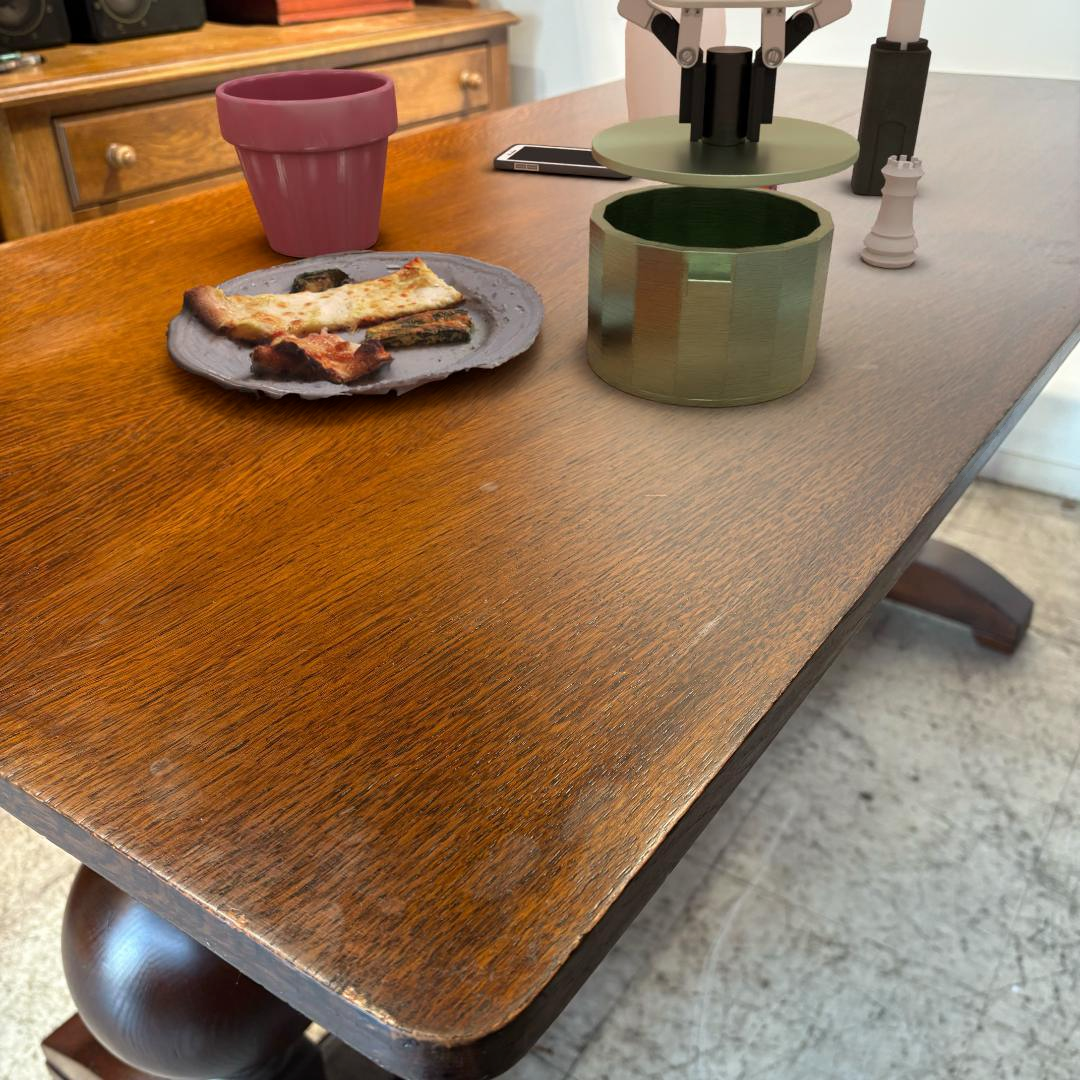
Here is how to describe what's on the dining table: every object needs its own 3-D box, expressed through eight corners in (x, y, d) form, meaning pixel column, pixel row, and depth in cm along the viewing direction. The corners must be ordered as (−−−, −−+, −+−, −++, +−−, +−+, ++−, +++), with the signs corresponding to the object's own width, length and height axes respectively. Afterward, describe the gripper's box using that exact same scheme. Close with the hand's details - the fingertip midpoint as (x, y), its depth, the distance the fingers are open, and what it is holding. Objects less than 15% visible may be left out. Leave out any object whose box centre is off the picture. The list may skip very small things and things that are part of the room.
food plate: (199, 450, 61) (188, 393, 59) (149, 312, 79) (139, 265, 77) (599, 375, 70) (600, 323, 68) (471, 266, 88) (469, 222, 86)
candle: (853, 195, 105) (898, -107, 91) (849, 181, 109) (892, -110, 96) (908, 197, 104) (961, -107, 91) (902, 183, 108) (952, -110, 95)
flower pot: (228, 228, 96) (203, 73, 90) (383, 211, 101) (370, 62, 94) (252, 279, 85) (226, 106, 78) (426, 257, 89) (415, 91, 82)
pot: (801, 309, 79) (818, 176, 74) (825, 434, 63) (850, 273, 58) (601, 300, 81) (605, 169, 76) (572, 420, 64) (574, 262, 59)
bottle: (692, 123, 132) (710, -123, 118) (735, 144, 123) (759, -120, 109) (606, 130, 129) (614, -122, 115) (643, 151, 120) (656, -119, 106)
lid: (843, 133, 71) (856, 28, 67) (872, 200, 58) (890, 74, 54) (602, 131, 72) (603, 29, 69) (578, 196, 59) (578, 74, 56)
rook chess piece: (848, 256, 89) (863, 155, 85) (892, 249, 91) (909, 149, 87) (882, 272, 86) (900, 168, 82) (928, 265, 87) (947, 162, 83)
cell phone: (628, 180, 109) (629, 170, 109) (490, 169, 113) (490, 159, 112) (645, 161, 115) (646, 152, 115) (514, 152, 119) (514, 142, 119)
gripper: (580, -247, 52) (580, 151, 62) (930, -259, 50) (873, 154, 60) (594, -238, 58) (592, 122, 68) (906, -248, 56) (857, 124, 66)
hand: (724, 133), depth 64 cm, fingers closed on lid, 2 cm apart
